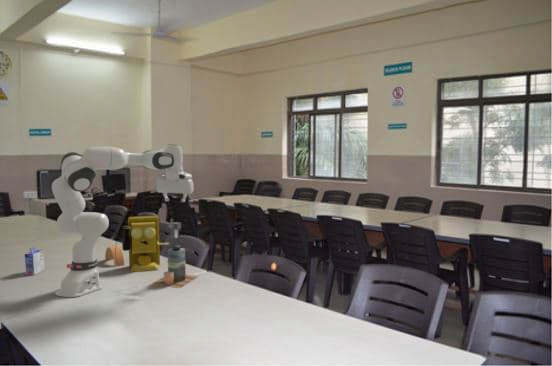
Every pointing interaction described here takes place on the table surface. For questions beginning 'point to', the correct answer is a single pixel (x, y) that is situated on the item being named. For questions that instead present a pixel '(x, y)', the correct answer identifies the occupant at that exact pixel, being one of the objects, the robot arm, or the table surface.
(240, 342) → the table surface
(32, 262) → the ink cartridge box
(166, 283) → the pink egg shape
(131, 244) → the vintage telephone
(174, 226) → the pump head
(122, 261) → the arch
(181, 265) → the stand
